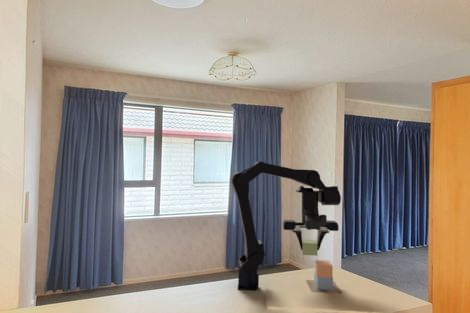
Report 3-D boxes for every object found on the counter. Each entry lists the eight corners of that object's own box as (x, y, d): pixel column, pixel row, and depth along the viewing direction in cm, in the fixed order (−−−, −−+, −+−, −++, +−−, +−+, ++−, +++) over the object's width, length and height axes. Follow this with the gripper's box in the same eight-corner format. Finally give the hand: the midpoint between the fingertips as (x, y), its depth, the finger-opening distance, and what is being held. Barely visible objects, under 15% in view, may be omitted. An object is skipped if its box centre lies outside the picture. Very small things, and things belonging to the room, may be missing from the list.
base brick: (317, 289, 116) (317, 277, 116) (314, 282, 123) (314, 271, 123) (332, 290, 115) (333, 277, 116) (328, 283, 122) (328, 271, 123)
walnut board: (311, 293, 113) (311, 291, 113) (306, 281, 125) (306, 280, 125) (342, 294, 113) (342, 293, 113) (334, 283, 125) (334, 281, 125)
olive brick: (302, 254, 119) (302, 243, 119) (302, 250, 126) (302, 239, 126) (317, 255, 118) (317, 243, 118) (316, 250, 125) (316, 239, 125)
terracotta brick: (317, 277, 116) (317, 265, 116) (314, 271, 123) (314, 259, 123) (332, 278, 115) (332, 265, 116) (329, 272, 122) (329, 260, 122)
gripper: (285, 207, 115) (285, 255, 114) (342, 208, 114) (342, 256, 113) (282, 204, 126) (282, 247, 125) (334, 204, 125) (334, 248, 124)
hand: (309, 249), depth 122 cm, fingers closed on olive brick, 5 cm apart
